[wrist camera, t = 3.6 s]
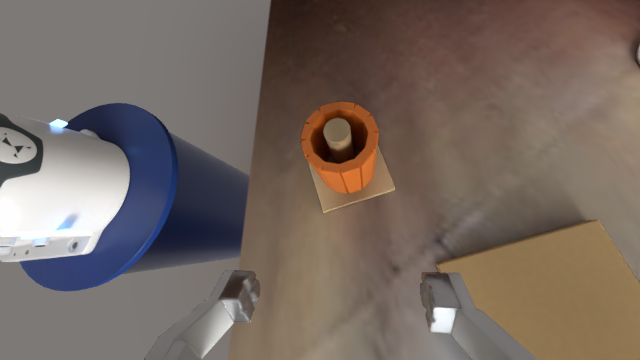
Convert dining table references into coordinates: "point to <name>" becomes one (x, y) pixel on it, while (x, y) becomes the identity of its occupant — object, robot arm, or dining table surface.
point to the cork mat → (558, 293)
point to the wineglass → (638, 53)
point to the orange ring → (363, 139)
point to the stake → (342, 152)
